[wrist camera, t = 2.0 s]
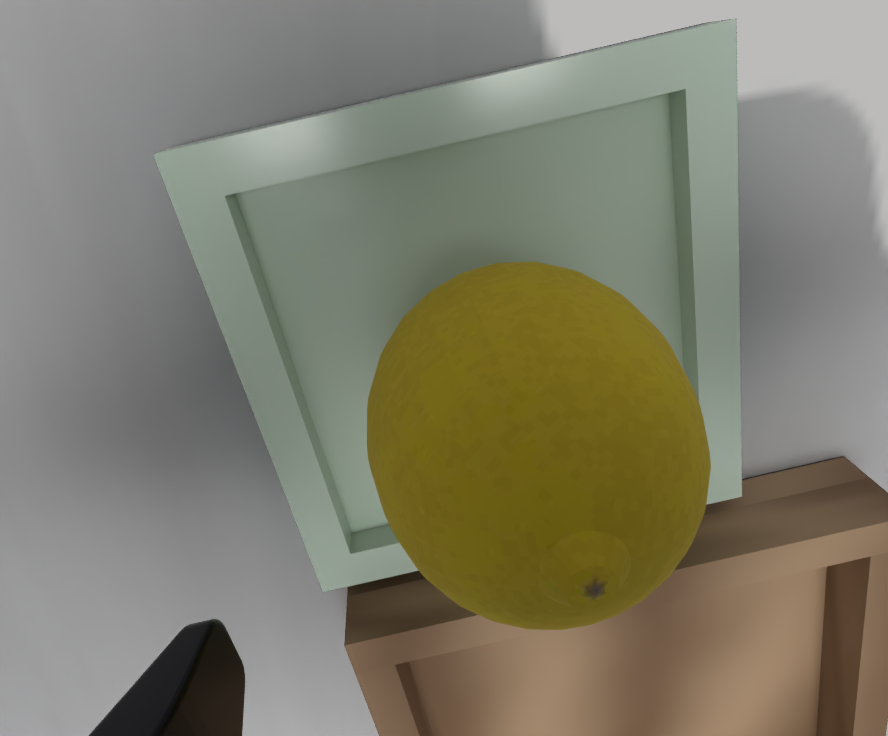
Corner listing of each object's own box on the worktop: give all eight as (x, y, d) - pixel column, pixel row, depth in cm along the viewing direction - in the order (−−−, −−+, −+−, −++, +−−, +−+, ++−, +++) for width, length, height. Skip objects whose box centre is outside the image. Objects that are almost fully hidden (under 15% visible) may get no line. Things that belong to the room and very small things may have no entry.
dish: (326, 560, 18) (322, 592, 17) (171, 147, 13) (152, 154, 12) (719, 470, 18) (741, 496, 17) (706, 22, 13) (736, 17, 12)
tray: (439, 822, 23) (446, 908, 21) (348, 569, 18) (344, 645, 16) (824, 735, 23) (875, 811, 21) (844, 457, 18) (915, 515, 16)
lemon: (610, 422, 16) (796, 706, 9) (391, 459, 16) (402, 777, 9) (603, 201, 14) (847, 344, 7) (346, 241, 14) (312, 433, 7)
